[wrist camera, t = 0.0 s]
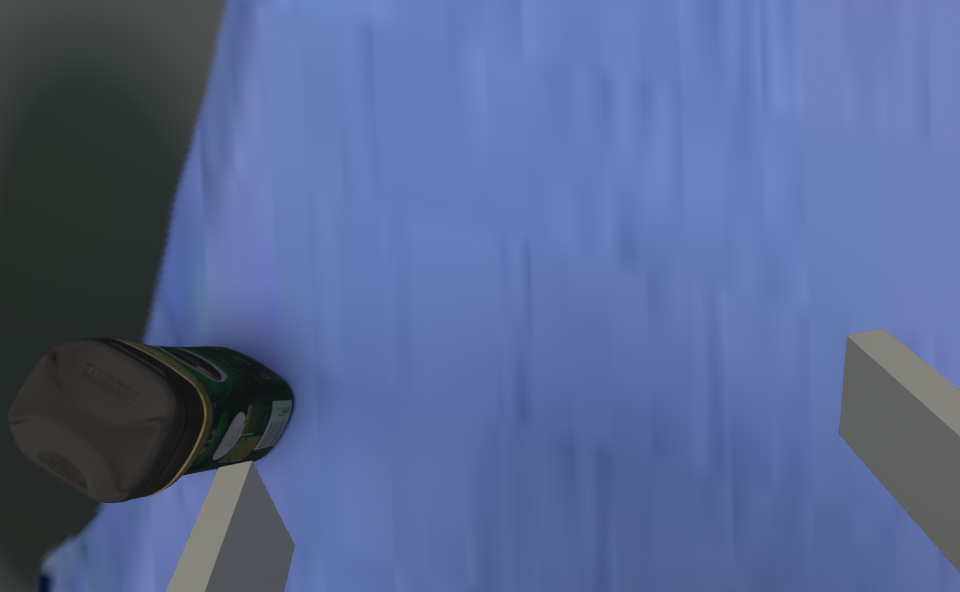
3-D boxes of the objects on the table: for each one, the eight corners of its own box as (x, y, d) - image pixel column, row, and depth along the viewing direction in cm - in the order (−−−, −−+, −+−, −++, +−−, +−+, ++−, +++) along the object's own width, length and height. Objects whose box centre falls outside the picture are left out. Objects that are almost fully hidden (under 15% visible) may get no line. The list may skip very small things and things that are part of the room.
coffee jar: (162, 419, 51) (-38, 442, 33) (212, 334, 52) (43, 309, 34) (261, 479, 50) (111, 537, 32) (311, 391, 51) (192, 397, 32)
